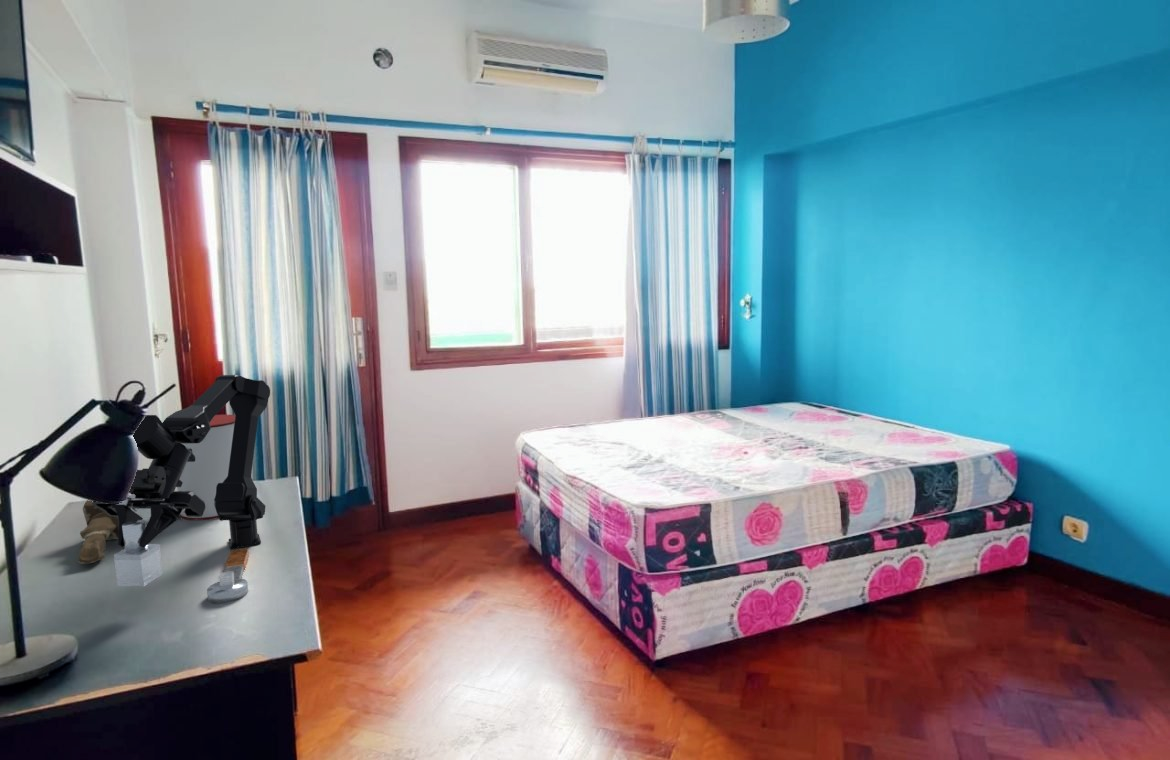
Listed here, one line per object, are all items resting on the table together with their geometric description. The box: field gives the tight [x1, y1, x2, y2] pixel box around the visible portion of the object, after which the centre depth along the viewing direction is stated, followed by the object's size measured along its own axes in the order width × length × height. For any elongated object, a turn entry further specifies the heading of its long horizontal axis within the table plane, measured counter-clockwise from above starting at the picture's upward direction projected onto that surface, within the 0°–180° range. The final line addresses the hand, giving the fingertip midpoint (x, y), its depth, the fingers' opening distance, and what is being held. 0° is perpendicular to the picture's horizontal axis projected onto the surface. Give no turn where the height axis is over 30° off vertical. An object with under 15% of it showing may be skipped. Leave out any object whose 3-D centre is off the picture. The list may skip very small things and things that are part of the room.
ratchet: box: [206, 548, 250, 605], centre depth 137 cm, size 23×7×4 cm, turn 21°
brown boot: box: [78, 499, 119, 564], centre depth 154 cm, size 8×22×15 cm
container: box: [176, 414, 235, 521], centre depth 180 cm, size 17×17×25 cm
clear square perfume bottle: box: [113, 519, 164, 587], centre depth 122 cm, size 5×5×11 cm
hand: (130, 546), depth 120 cm, fingers closed on clear square perfume bottle, 4 cm apart
